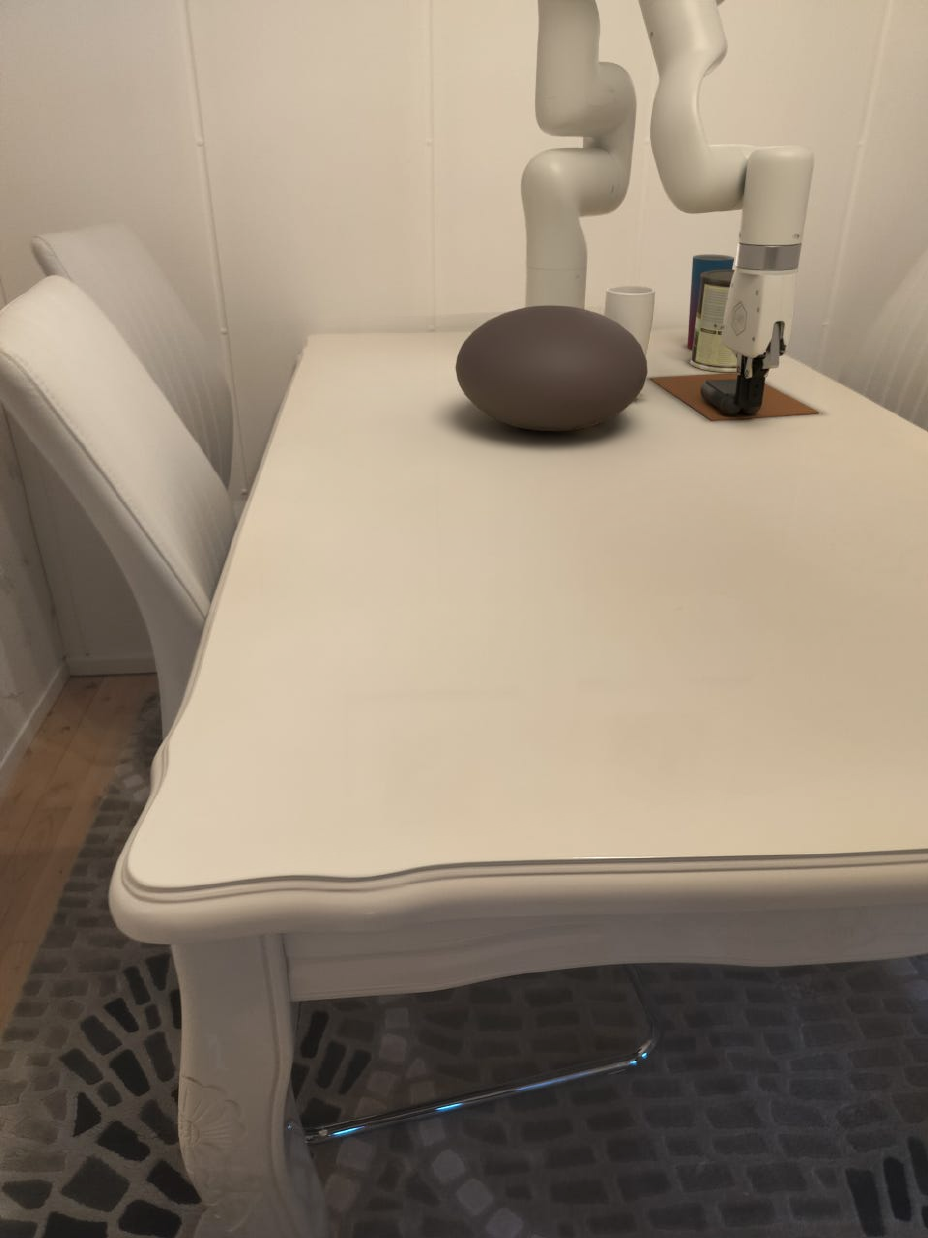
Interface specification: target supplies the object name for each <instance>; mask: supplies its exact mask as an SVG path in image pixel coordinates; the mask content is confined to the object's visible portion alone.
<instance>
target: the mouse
mask: <svg viewBox="0 0 928 1238" xmlns="http://www.w3.org/2000/svg"><path fill="white" fill-rule="evenodd" d="M736 383H737V379H727V380H706V382H704V383H703V385H702V386H701V390H700V392H701V396H702V397H703V399H705V400H706V401H707V402H709V403H710V404H711V405H713V406H714V407H715V408H717V409H718V410H720V411H721V412H722V413H724V414H725V415H729V416H732V415H735V414H737V413H738V412H739V411H741V412H743V413H745V414H747V415H752V414H755V413H757V412H758V411H759V410H760V408H761V406H762V405H761V406H760V407H750V408H740V407H738V406H736V405H735V404H734V399H735V391H736Z"/></svg>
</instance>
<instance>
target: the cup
mask: <svg viewBox="0 0 928 1238" xmlns="http://www.w3.org/2000/svg"><path fill="white" fill-rule="evenodd" d="M734 263H735V257H734V256H731V255H727V254H715V253H714V254H713V253H711V254H710V253H708V254H696V255H693V256H692V266H691V280H690V281H691V282H690V300H689V314H688V330H687V331H688V333H687V346H686V347H687V349H689V350H691V351H692V348H693V340H694V332H695V324H696V316H697V307H698V299H699V291H700V282H701V279H700V276H701V273H703V272H706V271H711V270H733V267H734Z"/></svg>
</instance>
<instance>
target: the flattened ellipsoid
mask: <svg viewBox="0 0 928 1238" xmlns="http://www.w3.org/2000/svg"><path fill="white" fill-rule="evenodd" d="M455 375H456V379H457V382H458V385H459V386H460V388H461V390H462V392H463V395H464V396H465V397H466V398H467V399H468V400H469V401H470V403H472V405H474V406H475V407H476V408H477V409H478V410H479V411H481V412H483V413H484V414H485V415H487V416H489V417H491V418H493V419H494V420H496V421H499V422H501V423H503V424H507V425H509V426H513V427H516V428H520V429H526V430H532V431H543V432H563V431H564V432H565V431H575V430H579V429H580V430H581V429H584V428H589V427H591V426H594V425H598V424H601V423H603V422H605V421H608V420H610V419H612V418H613V417H615V416H617V415H618V414H620V413H622V412H624V410H626V409H627V408H628V407H629V406H630V405H631V404H632V403H634V402H635V401H636V400H637V399H638V398H637V396H638V395H639V393H640V394H641V392H642V390H643V388H644V387H645V383H646V381H647V376H648V360H647V357H646V358H645V355H644V352H643V350H642V347H641V345H640V344H639V342H638V341H637V340H636V339H635V337H634V336H633V335H632V334H631V333H630V332H628V331H627V330H626V329H625V328H624V327H622V326H621V325H620V324H619V323H617V322H615V321H613V320H611V319H609V318H607V317H605V316H604V314H601V313H597V312H595V311H592V310H589V309H585V308H584V309H582V308H577V307H569V306H554V305H549V306H532V307H525V308H524V307H522V308H518V309H513V310H510V311H506V312H503V313H501V314H499V315H497V316H495V317H492V318H490V319H488V320H487V321H485V322H484V323H483V324H481V325H480V326H478V327H476V329H474V330H473V331H472V332H471V333H470V334H469V335H468V337H467V338H466V339H464V341H463V343H462V345H461V347H460V349H459V351H458V354H457V355H456V362H455ZM636 398H637V399H636ZM635 399H636V400H635Z"/></svg>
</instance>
